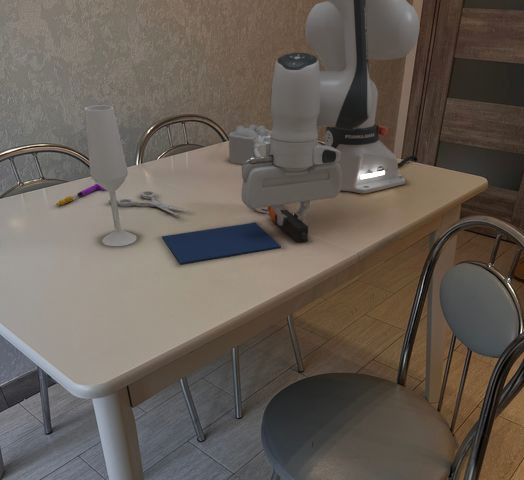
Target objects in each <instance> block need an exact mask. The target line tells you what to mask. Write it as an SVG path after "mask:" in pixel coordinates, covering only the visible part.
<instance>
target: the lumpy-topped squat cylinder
mask: <svg viewBox="0 0 524 480" xmlns="http://www.w3.org/2000/svg"><path fill="white" fill-rule="evenodd" d="M270 134H271V130H269V129H267V128H266V127H265V126H264V125H259V126H257V125H256V124H250V125H249V126H248V127H245V126H244V125H238V126H236V127H235V130H234V131H231V132H230V133H229V134H228V157H229V159H228V160H229V163H231V164H237V165H238V164H239V165H243V164H244V163H245V162H246V161H247V160H249V158H251V157H252V147H253V138H255V137H257V136H265V135H270ZM247 164H249V163H247Z"/></svg>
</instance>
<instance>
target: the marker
mask: <svg viewBox="0 0 524 480" xmlns="http://www.w3.org/2000/svg"><path fill="white" fill-rule="evenodd" d="M280 211H281V213H282V214H284V215H285V216H287V225H282V226H280V225H278V223H277V215H276V213H275V211H274V209H273V208H271V209H270V211H269V213H268V215H269V217H270V219H272V220H273V221H274V222H275V226H277V228H278V229H280V230H281V231H283V232H284V233H285V234H286V235H287V236H288V237H289V238H291V239H292V240H293V241H294V242H295V243H303V242H308V240H309V239H308V237H309V226H308V224H306V223H304V222H302V221H301V220H299V219H298V218H297V217H296V216H294V213H292V212H290V211H289V209H284V208H283V209H282V210H280Z"/></svg>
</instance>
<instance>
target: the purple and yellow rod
mask: <svg viewBox="0 0 524 480" xmlns="http://www.w3.org/2000/svg"><path fill="white" fill-rule="evenodd" d="M96 190H98V191H100V190H101V191H103V192H104V191H106V190H105V189H104V188H102V187H101V186H100V185H98V184H97V183H95V184H93V185H92V186H90V187H88V188H85V189H83V190H81V191H78V193H77V194H76V195H74V196H71V195H69V196H67V197H65V198H63V199H61V200H59V201H58V202H57V203H56V206H63V205H65V204H67V203H70V202H71V203H72V201H74V198H76V197H83V196H85V195H88V194H89V193H92V192H93V191H96Z"/></svg>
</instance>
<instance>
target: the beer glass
mask: <svg viewBox="0 0 524 480" xmlns="http://www.w3.org/2000/svg"><path fill="white" fill-rule="evenodd" d="M270 138H271V136H270V135H265V136H257V137H255V138H253V147H252V157H261V156H268V155H270ZM271 208H272V206H270V207H263V208H255V209H253V210H254V211H255V212H257V213H260V214H269V211H270V209H271Z"/></svg>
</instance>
